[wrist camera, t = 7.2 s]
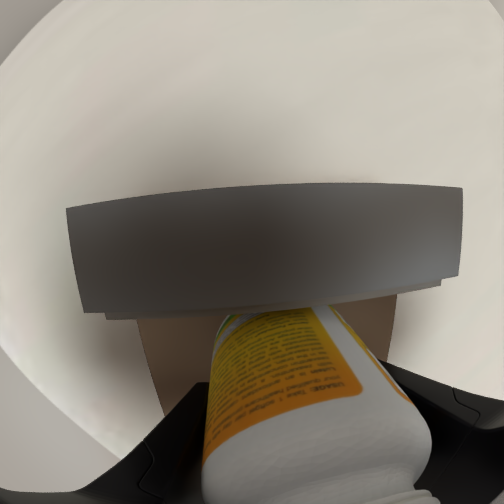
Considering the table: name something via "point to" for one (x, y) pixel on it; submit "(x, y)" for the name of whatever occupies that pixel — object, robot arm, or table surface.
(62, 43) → the table surface
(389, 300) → the vise bed
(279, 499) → the supplement bottle
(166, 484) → the robot arm
